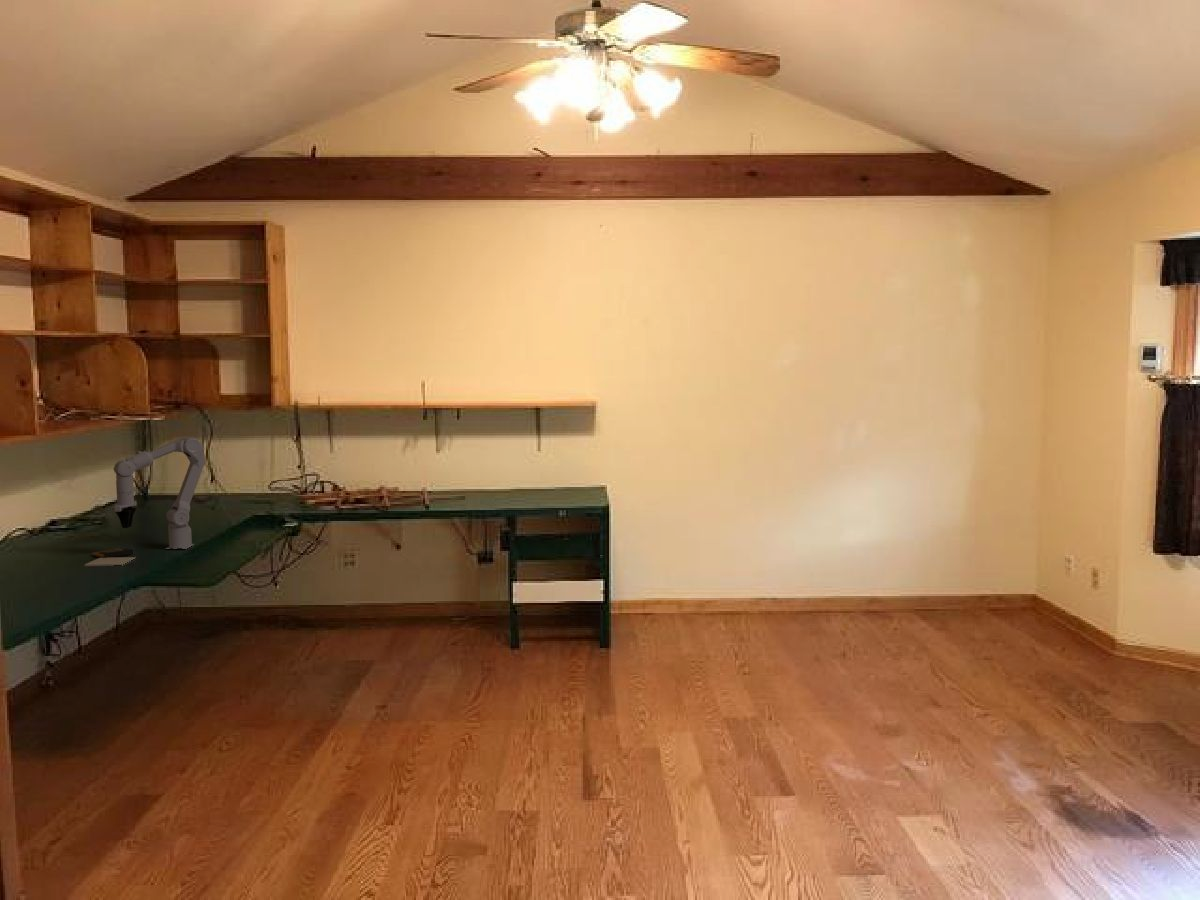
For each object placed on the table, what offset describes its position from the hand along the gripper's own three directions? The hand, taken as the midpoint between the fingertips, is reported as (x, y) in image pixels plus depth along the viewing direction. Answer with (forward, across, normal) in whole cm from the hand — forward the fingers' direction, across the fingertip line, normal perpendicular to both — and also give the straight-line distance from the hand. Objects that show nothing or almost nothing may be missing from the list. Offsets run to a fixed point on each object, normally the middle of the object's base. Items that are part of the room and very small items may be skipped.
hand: (126, 527), depth 364 cm
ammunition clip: (+9, +5, -1) cm, 11 cm away
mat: (+10, +14, 0) cm, 18 cm away
